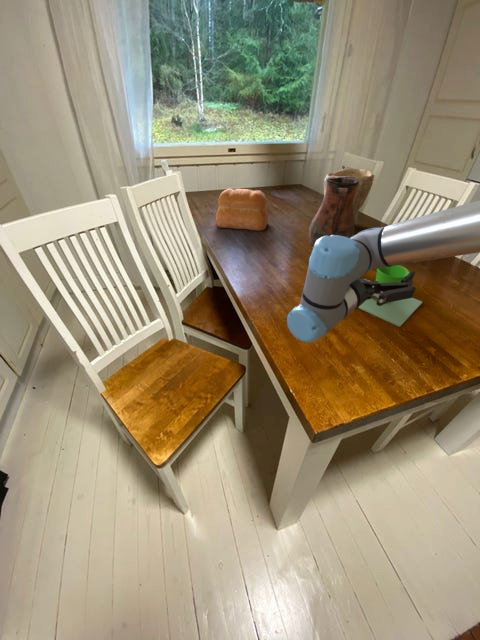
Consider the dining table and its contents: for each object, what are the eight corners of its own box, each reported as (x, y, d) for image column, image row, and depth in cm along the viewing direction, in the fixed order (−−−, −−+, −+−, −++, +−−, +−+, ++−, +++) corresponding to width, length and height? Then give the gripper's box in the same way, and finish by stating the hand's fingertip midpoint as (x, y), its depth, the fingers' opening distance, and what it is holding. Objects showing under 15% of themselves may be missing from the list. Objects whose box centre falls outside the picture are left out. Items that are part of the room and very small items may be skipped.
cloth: (422, 303, 88) (422, 301, 88) (399, 327, 79) (400, 326, 78) (364, 279, 100) (364, 278, 99) (338, 298, 90) (338, 297, 90)
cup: (365, 303, 87) (376, 273, 80) (366, 289, 93) (377, 260, 87) (396, 310, 84) (410, 279, 77) (395, 295, 91) (408, 265, 84)
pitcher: (344, 252, 118) (364, 175, 99) (347, 276, 101) (373, 190, 83) (305, 248, 120) (318, 173, 102) (302, 271, 104) (317, 186, 85)
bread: (221, 218, 151) (220, 184, 140) (268, 221, 147) (271, 187, 136) (213, 228, 139) (212, 192, 128) (264, 232, 135) (267, 195, 124)
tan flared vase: (323, 214, 158) (332, 165, 142) (363, 220, 150) (378, 169, 134) (311, 226, 142) (321, 172, 127) (356, 234, 134) (372, 178, 118)
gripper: (294, 290, 69) (338, 263, 81) (393, 338, 55) (429, 298, 66) (298, 263, 65) (345, 239, 76) (407, 308, 50) (444, 270, 62)
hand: (384, 266), depth 71 cm, fingers open, 13 cm apart
